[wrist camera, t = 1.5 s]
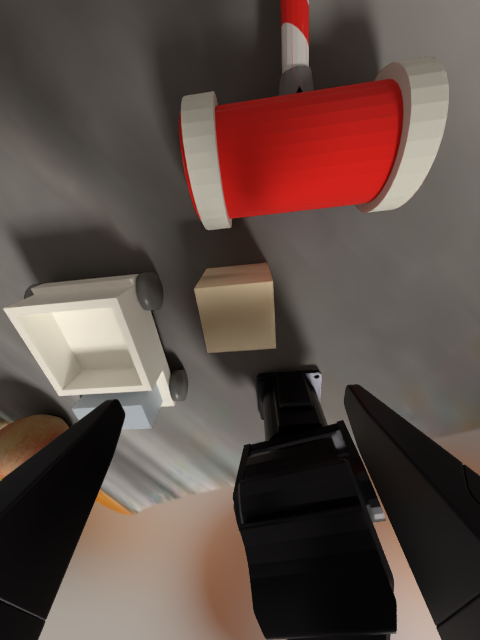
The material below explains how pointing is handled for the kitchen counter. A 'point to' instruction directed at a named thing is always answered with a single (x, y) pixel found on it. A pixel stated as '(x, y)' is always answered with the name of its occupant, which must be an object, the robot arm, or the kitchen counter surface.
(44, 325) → the toy truck
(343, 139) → the toy hammer
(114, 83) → the kitchen counter surface
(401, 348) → the kitchen counter surface
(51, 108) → the kitchen counter surface
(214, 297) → the cream wooden cube
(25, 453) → the apple
